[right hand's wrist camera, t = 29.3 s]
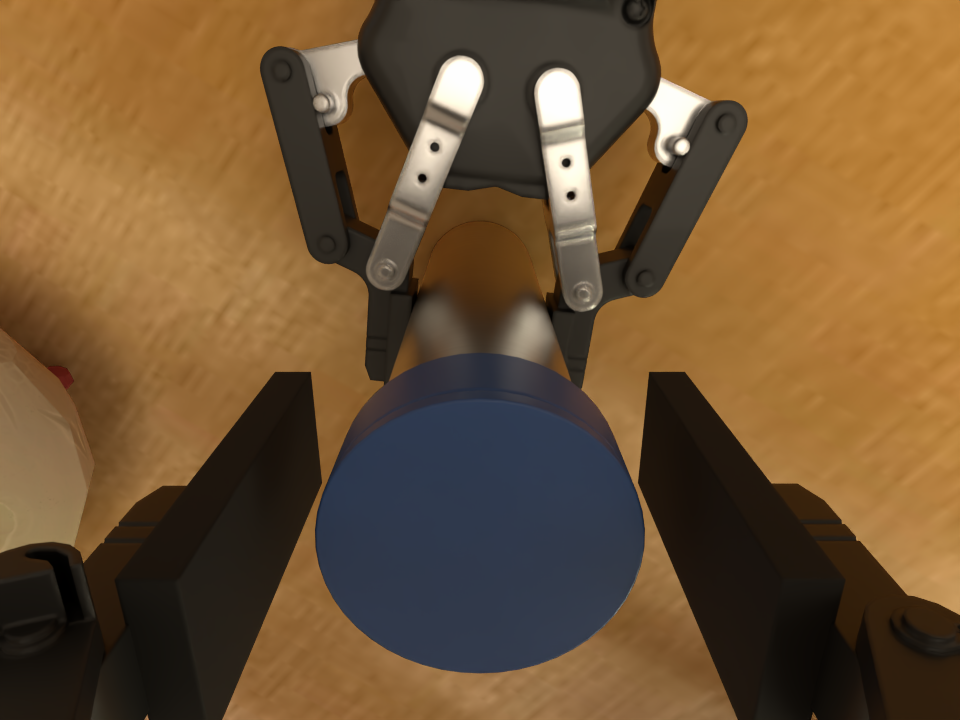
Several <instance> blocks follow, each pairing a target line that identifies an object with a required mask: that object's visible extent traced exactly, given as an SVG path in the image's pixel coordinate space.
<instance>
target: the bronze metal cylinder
mask: <svg viewBox="0 0 960 720" xmlns="http://www.w3.org/2000/svg"><path fill="white" fill-rule="evenodd" d="M467 353H493V354H503V355H508V356H514V357H519V358H522V359H525V360H529V361H532V362H535V363H538V364H540V365H542V366H544V367H547V368H549V369H551V370H553V371H555V372H557V373H558V374H560V375H562V376H563V377H565V378H566V379H568V380H569V381H571V379H570V376H569V373H568V370H567V367H566V364H565V361H564V358H563V355H562V352H561V349H560V346H559V343H558V340H557V337H556V334H555V331H554V328H553V325H552V322H551V319H550V316H549V313H548V310H547V307H546V304H545V301H544V298H543V295H542V292H541V289H540V286H539V283H538V280H537V277H536V274H535V271H534V268H533V265H532V262H531V259H530V256H529V254H528V251H527V249H526V247H525V246H524V244H523V243H522V241H521V240H520V239H519V238H518V237H517V236H516V235H515V234H514V233H513V232H511V231H510V230H509V229H507V228H505V227H503V226H501V225H498V224H496V223H492V222H486V221H474V222H468V223H465V224H461V225H459V226H457V227H455V228H453V229H451V230H450V231H448V232H447V233H446V234H445V235H444V236H443V237H442V238H441V239H440V240H439V241H438V243H437V244H436V246H435V247H434V249H433V251H432V253H431V256H430V259H429V262H428V265H427V268H426V271H425V274H424V277H423V280H422V283H421V286H420V289H419V292H418V295H417V298H416V301H415V304H414V307H413V310H412V313H411V316H410V319H409V322H408V325H407V328H406V331H405V334H404V337H403V340H402V343H401V346H400V349H399V352H398V355H397V358H396V361H395V364H394V367H393V370H392V373H391V376H390V379H389V381H391V380H392V379H394V378H395V377H397V376H398V375H400V374H402V373H403V372H405V371H407V370H409V369H411V368H413V367H415V366H418V365H420V364H422V363H425V362H428V361H431V360H434V359H438V358H441V357H446V356H451V355H457V354H467Z"/></svg>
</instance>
